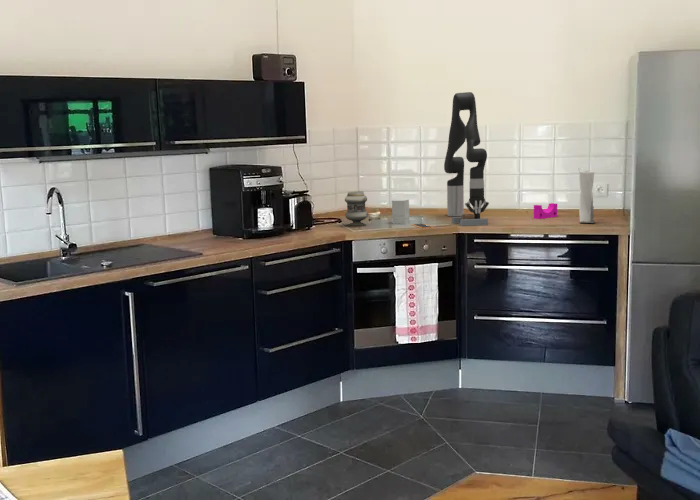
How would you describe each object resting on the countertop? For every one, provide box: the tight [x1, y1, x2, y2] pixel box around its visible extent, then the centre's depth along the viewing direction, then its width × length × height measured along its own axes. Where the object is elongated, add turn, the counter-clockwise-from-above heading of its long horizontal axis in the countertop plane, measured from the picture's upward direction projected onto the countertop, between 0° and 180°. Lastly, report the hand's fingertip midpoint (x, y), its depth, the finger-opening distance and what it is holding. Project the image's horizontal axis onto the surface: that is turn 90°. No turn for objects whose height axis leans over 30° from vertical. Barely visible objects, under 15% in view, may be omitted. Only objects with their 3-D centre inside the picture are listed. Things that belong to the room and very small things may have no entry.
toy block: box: [533, 202, 558, 220], centre depth 440 cm, size 15×6×8 cm, turn 126°
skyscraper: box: [578, 167, 596, 224], centre depth 411 cm, size 8×8×28 cm
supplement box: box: [391, 198, 410, 225], centre depth 427 cm, size 7×7×13 cm
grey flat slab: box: [450, 216, 489, 227], centre depth 416 cm, size 16×14×3 cm
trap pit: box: [410, 223, 436, 229], centre depth 411 cm, size 18×7×1 cm, turn 12°
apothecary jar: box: [344, 190, 369, 228], centre depth 419 cm, size 12×12×18 cm
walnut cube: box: [461, 213, 475, 220], centre depth 416 cm, size 5×5×5 cm
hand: (477, 220), depth 417 cm, fingers closed
